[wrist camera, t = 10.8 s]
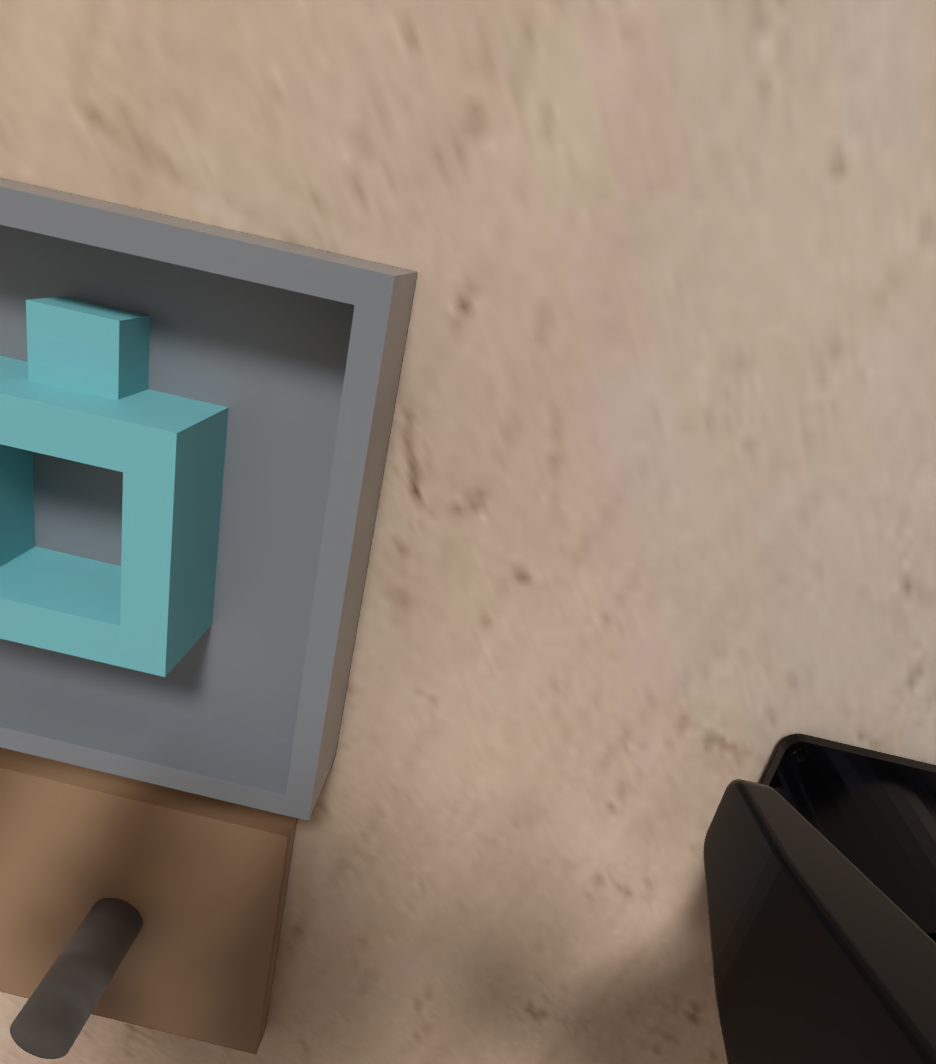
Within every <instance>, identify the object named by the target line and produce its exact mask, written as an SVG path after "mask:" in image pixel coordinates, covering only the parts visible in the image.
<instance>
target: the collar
mask: <svg viewBox="0 0 936 1064" xmlns="http://www.w3.org/2000/svg"><path fill="white" fill-rule="evenodd" d="M26 323H27V354H28V362H26V361H21V360H17V359H12V358H8V357H4V356H0V639H4V640H9V641H13V642H17V643H21V644H26V645H30V646H34V647H38V648H43V649H47V650H51V651H56V652H60V653H64V654H68V655H73V656H77V657H81V658H85V659H90V660H94V661H98V662H103V663H107V664H111V665H115V666H120V667H124V668H128V669H132V670H137V671H141V672H145V673H150V674H154V675H158V676H162V677H166V675H167V674H168V673H169V672H170V671H171V670H172V669H173V668H174V666H175V665H176V664H177V663H178V662H179V661H180V660H181V659H182V657H183V656H184V655H185V654H186V653H187V652H188V651H189V650H190V649H191V647H192V646H193V645H194V644H195V643H196V642H197V641H198V640H199V638H200V637H201V636H202V635H203V634H204V633H205V632H206V631H207V629H208V628H209V627H210V626H211V625H212V619H213V606H214V593H215V579H216V566H217V553H218V540H219V527H220V514H221V500H222V487H223V474H224V461H225V448H226V434H227V421H228V408H229V407H224V406H220V405H215V404H211V403H207V402H202V401H198V400H193V399H189V398H185V397H180V396H176V395H171V394H167V393H163V392H158V391H154V390H149V389H148V375H149V344H150V315H145V314H141V313H136V312H132V311H127V310H123V309H118V308H114V307H110V306H105V305H101V304H96V303H92V302H87V301H83V300H78V299H74V298H69V297H65V296H60V297H49V298H39V299H29V300H26ZM33 452H37V453H41V454H45V455H50V456H54V457H58V458H63V459H67V460H71V461H76V462H80V463H85V464H89V465H93V466H98V467H102V468H106V469H111V470H115V471H120V472H123V498H122V550H121V566H118V565H114V564H109V563H105V562H101V561H96V560H92V559H88V558H83V557H79V556H75V555H70V554H66V553H62V552H57V551H53V550H49V549H44V548H40V547H36V546H35V515H34V484H33Z"/></svg>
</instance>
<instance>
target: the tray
mask: <svg viewBox="0 0 936 1064" xmlns="http://www.w3.org/2000/svg"><path fill="white" fill-rule="evenodd" d="M416 278H417V272H415V271H411V270H406V269H402V268H398V267H393V266H389V265H384V264H380V263H375V262H371V261H367V260H362V259H358V258H353V257H349V256H345V255H340V254H336V253H331V252H327V251H322V250H318V249H314V248H309V247H305V246H300V245H296V244H291V243H287V242H283V241H278V240H274V239H269V238H265V237H260V236H256V235H252V234H247V233H243V232H238V231H234V230H229V229H225V228H221V227H216V226H212V225H207V224H203V223H198V222H194V221H190V220H185V219H181V218H176V217H172V216H167V215H163V214H159V213H154V212H150V211H145V210H141V209H137V208H132V207H128V206H123V205H119V204H114V203H110V202H106V201H101V200H97V199H92V198H88V197H83V196H79V195H75V194H70V193H66V192H61V191H57V190H52V189H48V188H44V187H39V186H35V185H30V184H26V183H21V182H17V181H13V180H8V179H4V178H0V356H4V357H8V358H12V359H17V360H21V361H26V362H28V354H27V323H26V300H29V299H39V298H49V297H60V296H65V297H69V298H74V299H78V300H83V301H87V302H92V303H96V304H101V305H105V306H110V307H114V308H118V309H123V310H127V311H132V312H136V313H141V314H145V315H150V344H149V375H148V389H149V390H154V391H158V392H163V393H167V394H171V395H176V396H180V397H185V398H189V399H193V400H198V401H202V402H207V403H211V404H215V405H220V406H224V407H229V408H228V421H227V434H226V448H225V461H224V474H223V487H222V500H221V514H220V527H219V540H218V553H217V566H216V579H215V593H214V606H213V619H212V625H211V626H210V627H209V628H208V629H207V631H206V632H205V633H204V634H203V635H202V636H201V637H200V638H199V640H198V641H197V642H196V643H195V644H194V645H193V646H192V647H191V649H190V650H189V651H188V652H187V653H186V654H185V655H184V656H183V657H182V659H181V660H180V661H179V662H178V663H177V664H176V665H175V666H174V668H173V669H172V670H171V671H170V672H169V673H168V674H167V675H166V677H162V676H158V675H154V674H150V673H145V672H141V671H137V670H132V669H128V668H124V667H120V666H115V665H111V664H107V663H103V662H98V661H94V660H90V659H85V658H81V657H77V656H73V655H68V654H64V653H60V652H56V651H51V650H47V649H43V648H38V647H34V646H30V645H26V644H21V643H17V642H13V641H9V640H4V639H0V747H2V748H6V749H10V750H14V751H18V752H22V753H27V754H31V755H35V756H39V757H43V758H47V759H52V760H56V761H60V762H64V763H68V764H73V765H77V766H81V767H85V768H89V769H93V770H98V771H102V772H106V773H110V774H114V775H118V776H123V777H127V778H131V779H135V780H139V781H143V782H148V783H152V784H156V785H160V786H164V787H168V788H173V789H177V790H181V791H185V792H189V793H194V794H198V795H202V796H206V797H210V798H214V799H219V800H223V801H227V802H231V803H235V804H239V805H244V806H248V807H252V808H256V809H260V810H264V811H269V812H273V813H277V814H281V815H285V816H290V817H294V818H298V819H302V820H306V821H309V819H310V816H311V814H312V812H313V809H314V807H315V804H316V802H317V800H318V797H319V795H320V792H321V790H322V787H323V785H324V783H325V780H326V778H327V775H328V773H329V771H330V768H331V766H332V763H333V761H334V759H335V755H336V750H337V744H338V738H339V732H340V726H341V720H342V714H343V708H344V702H345V696H346V691H347V685H348V679H349V673H350V667H351V661H352V655H353V649H354V643H355V638H356V632H357V626H358V620H359V614H360V608H361V602H362V596H363V590H364V584H365V579H366V573H367V567H368V561H369V555H370V549H371V543H372V537H373V531H374V525H375V520H376V514H377V508H378V502H379V496H380V490H381V484H382V478H383V472H384V467H385V461H386V455H387V449H388V443H389V437H390V431H391V425H392V419H393V413H394V408H395V402H396V396H397V390H398V384H399V378H400V372H401V366H402V360H403V355H404V349H405V343H406V337H407V331H408V325H409V319H410V313H411V307H412V301H413V296H414V290H415V284H416ZM33 484H34V515H35V546H36V547H40V548H44V549H49V550H53V551H57V552H62V553H66V554H70V555H75V556H79V557H83V558H88V559H92V560H96V561H101V562H105V563H109V564H114V565H118V566H121V550H122V498H123V472H120V471H115V470H111V469H106V468H102V467H98V466H93V465H89V464H85V463H80V462H76V461H71V460H67V459H63V458H58V457H54V456H50V455H45V454H41V453H37V452H33Z"/></svg>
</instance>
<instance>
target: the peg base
mask: <svg viewBox="0 0 936 1064" xmlns="http://www.w3.org/2000/svg"><path fill="white" fill-rule="evenodd" d="M296 820H297V818H294V817H290V816H285V815H281V814H277V813H273V812H269V811H264V810H260V809H256V808H252V807H248V806H244V805H239V804H235V803H231V802H227V801H223V800H219V799H214V798H210V797H206V796H202V795H198V794H194V793H189V792H185V791H181V790H177V789H173V788H168V787H164V786H160V785H156V784H152V783H148V782H143V781H139V780H135V779H131V778H127V777H123V776H118V775H114V774H110V773H106V772H102V771H98V770H93V769H89V768H85V767H81V766H77V765H73V764H68V763H64V762H60V761H56V760H52V759H47V758H43V757H39V756H35V755H31V754H27V753H22V752H18V751H14V750H10V749H6V748H2V747H0V992H4V993H8V994H12V995H17V996H21V997H25V998H29V1000H28V1001H27V1003H26V1004H25V1005H24V1007H23V1008H22V1010H21V1011H20V1013H19V1014H18V1016H17V1017H16V1019H15V1020H14V1021H13V1023H12V1025H11V1027H10V1033H11V1036H12V1038H13V1040H14V1041H15V1042H16V1044H17V1045H18V1046H19V1047H21V1048H22V1049H23V1050H25V1051H26V1052H28V1053H30V1054H32V1055H34V1056H37V1057H41V1058H46V1059H56V1058H60V1057H63V1056H65V1055H66V1054H67V1053H68V1051H69V1050H70V1048H71V1046H72V1045H73V1043H74V1041H75V1040H76V1038H77V1036H78V1035H79V1033H80V1031H81V1030H82V1028H83V1026H84V1025H85V1023H86V1021H87V1020H88V1018H89V1016H90V1015H91V1014H94V1015H98V1016H102V1017H106V1018H110V1019H114V1020H118V1021H122V1022H126V1023H131V1024H135V1025H139V1026H143V1027H147V1028H151V1029H155V1030H159V1031H163V1032H167V1033H171V1034H175V1035H179V1036H184V1037H188V1038H192V1039H196V1040H200V1041H204V1042H208V1043H212V1044H216V1045H220V1046H224V1047H228V1048H232V1049H236V1050H241V1051H245V1052H249V1053H253V1054H257V1051H258V1048H259V1045H260V1042H261V1040H262V1037H263V1034H264V1031H265V1027H266V1020H267V1014H268V1007H269V1000H270V994H271V987H272V980H273V974H274V967H275V960H276V954H277V947H278V940H279V934H280V927H281V920H282V914H283V907H284V900H285V894H286V887H287V880H288V874H289V867H290V860H291V854H292V847H293V840H294V834H295V827H296Z"/></svg>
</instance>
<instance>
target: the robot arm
mask: <svg viewBox="0 0 936 1064" xmlns="http://www.w3.org/2000/svg"><path fill="white" fill-rule="evenodd" d="M799 748H802V749H804V750H803V751H802V752H800V753H793V752H794V751H795V750H797V749H799ZM704 866H705V878H706V890H707V902H708V914H709V926H710V939H711V951H712V963H713V974H714V983H715V993H716V1000H717V1006H718V1012H719V1018H720V1024H721V1029H722V1034H723V1040H724V1045H725V1050H726V1056H727V1061H728V1064H936V765H932V764H928V763H923V762H919V761H915V760H911V759H906V758H902V757H898V756H894V755H889V754H885V753H881V752H877V751H872V750H868V749H864V748H860V747H855V746H851V745H847V744H843V743H838V742H834V741H830V740H826V739H821V738H817V737H813V736H808V735H804V734H793V735H789V736H788V737H786V738H784V740H783V741H782V742H781V744H780V746H779V748H778V750H777V752H776V754H775V757H774V759H773V761H772V763H771V765H770V767H769V770H768V772H767V774H766V776H765V778H764V780H763V782H762V784H758V783H754V782H750V781H746V780H741V779H736V780H734V781H732V782H731V783H730V784H729V785H728V786H727V788H726V790H725V792H724V795H723V797H722V799H721V801H720V804H719V806H718V808H717V811H716V813H715V815H714V817H713V820H712V822H711V824H710V827H709V829H708V831H707V834H706V838H705V843H704Z"/></svg>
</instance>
